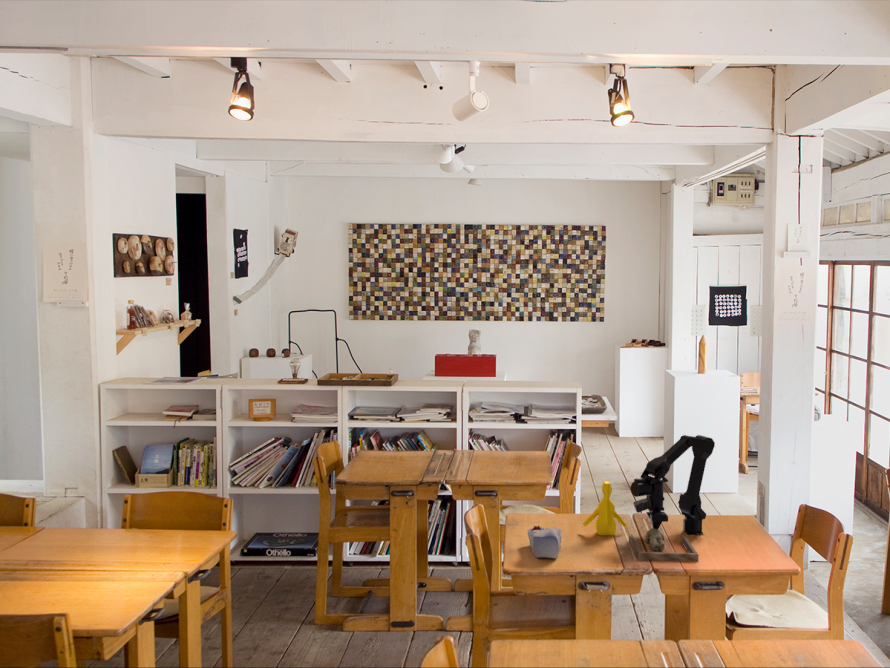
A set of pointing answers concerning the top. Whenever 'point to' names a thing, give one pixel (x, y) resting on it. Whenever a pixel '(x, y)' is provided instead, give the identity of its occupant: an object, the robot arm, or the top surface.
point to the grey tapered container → (545, 541)
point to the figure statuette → (605, 514)
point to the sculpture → (655, 539)
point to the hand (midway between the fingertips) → (655, 532)
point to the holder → (666, 556)
